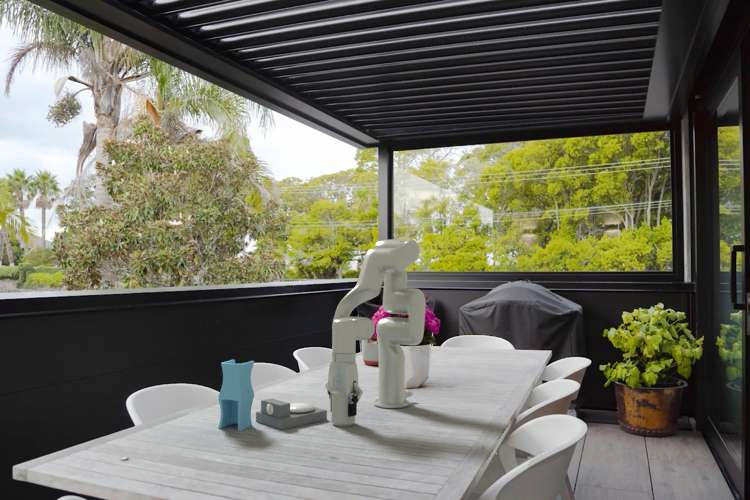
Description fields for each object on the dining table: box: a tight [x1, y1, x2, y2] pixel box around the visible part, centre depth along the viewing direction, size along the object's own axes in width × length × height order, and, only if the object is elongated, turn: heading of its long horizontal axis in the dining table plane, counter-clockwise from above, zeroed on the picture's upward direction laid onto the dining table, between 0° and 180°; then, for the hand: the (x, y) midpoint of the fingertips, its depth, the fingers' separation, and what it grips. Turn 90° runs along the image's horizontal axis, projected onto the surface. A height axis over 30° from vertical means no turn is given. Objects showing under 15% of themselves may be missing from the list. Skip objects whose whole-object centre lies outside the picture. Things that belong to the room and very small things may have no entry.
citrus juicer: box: [361, 336, 379, 366], centre depth 313 cm, size 16×17×20 cm
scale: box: [255, 398, 328, 430], centre depth 197 cm, size 18×14×7 cm
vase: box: [217, 359, 255, 432], centre depth 189 cm, size 8×8×20 cm
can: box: [331, 388, 356, 427], centre depth 193 cm, size 8×8×12 cm
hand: (343, 413), depth 193 cm, fingers closed on can, 7 cm apart
